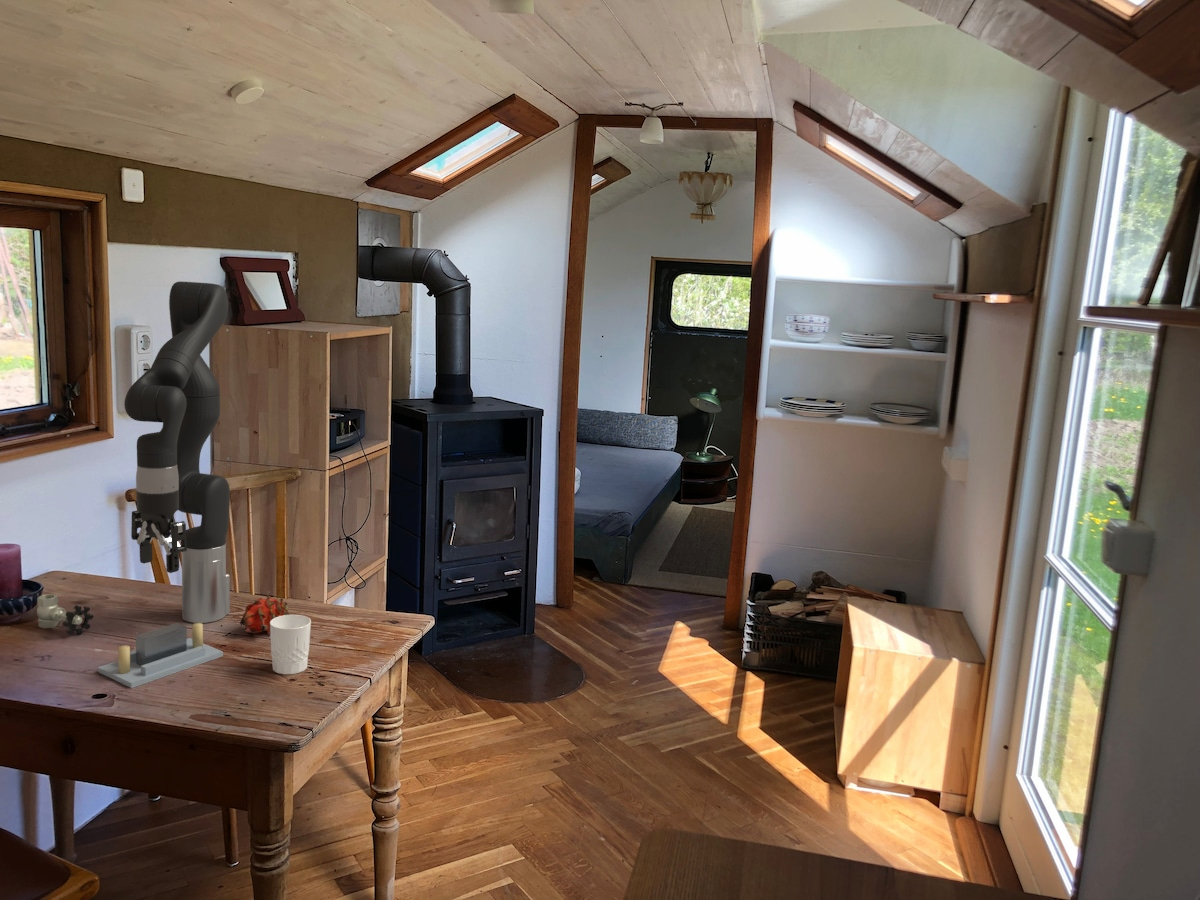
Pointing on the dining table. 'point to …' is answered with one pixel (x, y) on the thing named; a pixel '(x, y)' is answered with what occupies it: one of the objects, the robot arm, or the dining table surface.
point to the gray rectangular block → (160, 643)
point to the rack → (159, 661)
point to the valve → (61, 615)
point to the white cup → (290, 643)
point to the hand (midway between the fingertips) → (159, 567)
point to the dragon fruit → (263, 614)
